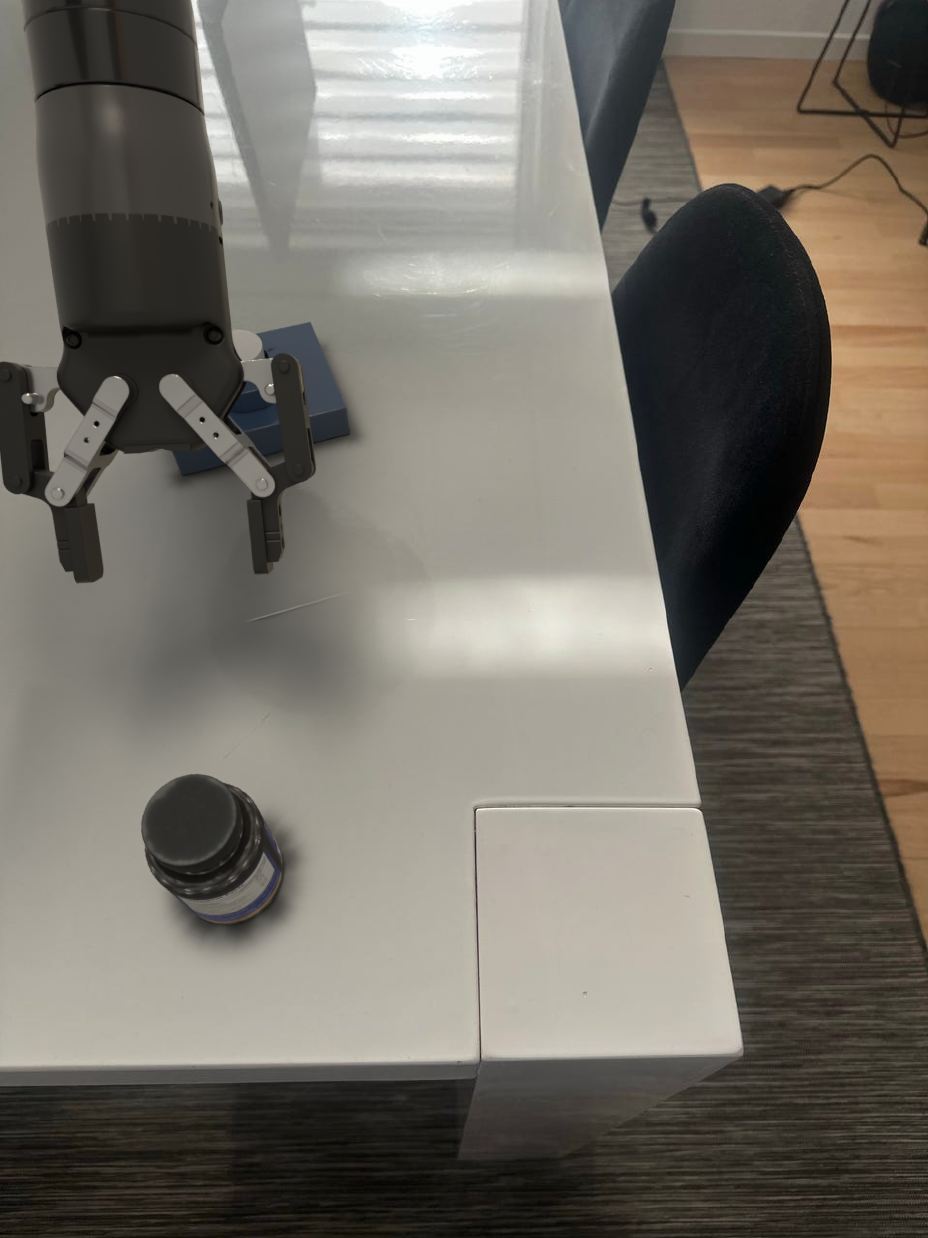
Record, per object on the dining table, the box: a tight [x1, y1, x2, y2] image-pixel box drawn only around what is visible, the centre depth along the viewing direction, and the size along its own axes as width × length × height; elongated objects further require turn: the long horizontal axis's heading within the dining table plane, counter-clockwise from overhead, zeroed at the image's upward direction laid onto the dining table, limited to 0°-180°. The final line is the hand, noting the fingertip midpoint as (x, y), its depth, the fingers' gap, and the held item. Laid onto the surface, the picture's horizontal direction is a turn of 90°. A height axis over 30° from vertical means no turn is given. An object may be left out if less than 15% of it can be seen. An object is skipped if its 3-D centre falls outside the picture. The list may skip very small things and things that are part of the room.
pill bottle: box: [140, 773, 284, 926], centre depth 46 cm, size 6×6×11 cm
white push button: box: [232, 329, 265, 361], centre depth 66 cm, size 4×4×2 cm
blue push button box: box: [171, 321, 350, 476], centre depth 69 cm, size 14×11×5 cm
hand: (178, 576), depth 42 cm, fingers open, 8 cm apart
